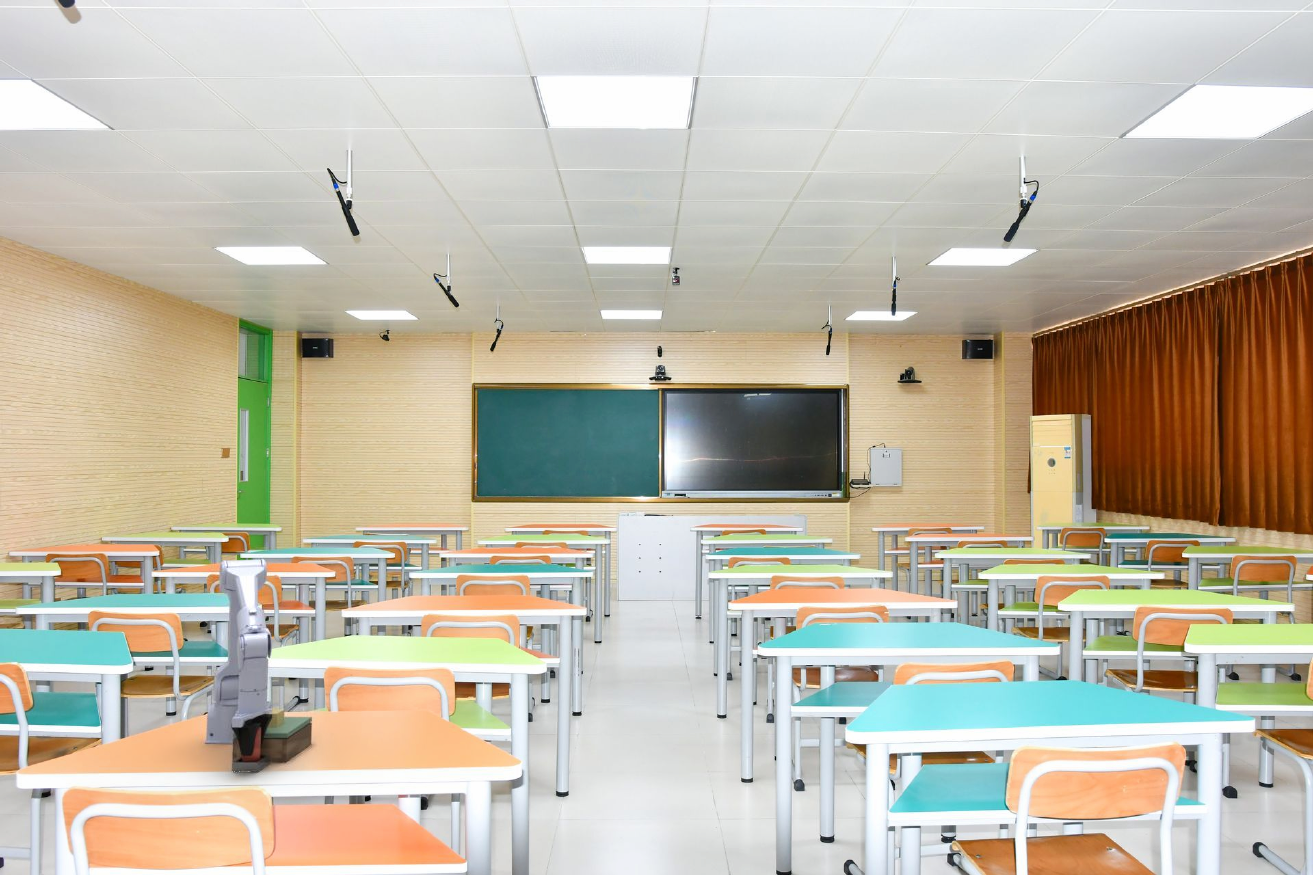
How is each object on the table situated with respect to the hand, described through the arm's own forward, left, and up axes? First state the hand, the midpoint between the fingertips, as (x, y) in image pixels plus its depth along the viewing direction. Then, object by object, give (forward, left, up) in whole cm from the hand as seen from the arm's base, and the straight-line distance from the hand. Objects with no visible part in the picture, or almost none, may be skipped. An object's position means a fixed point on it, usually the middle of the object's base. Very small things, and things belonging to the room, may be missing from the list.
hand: (251, 752), depth 191 cm
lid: (0, +11, +2) cm, 11 cm away
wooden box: (0, +11, -3) cm, 11 cm away
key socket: (0, 0, -3) cm, 3 cm away
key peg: (0, 0, -3) cm, 3 cm away
